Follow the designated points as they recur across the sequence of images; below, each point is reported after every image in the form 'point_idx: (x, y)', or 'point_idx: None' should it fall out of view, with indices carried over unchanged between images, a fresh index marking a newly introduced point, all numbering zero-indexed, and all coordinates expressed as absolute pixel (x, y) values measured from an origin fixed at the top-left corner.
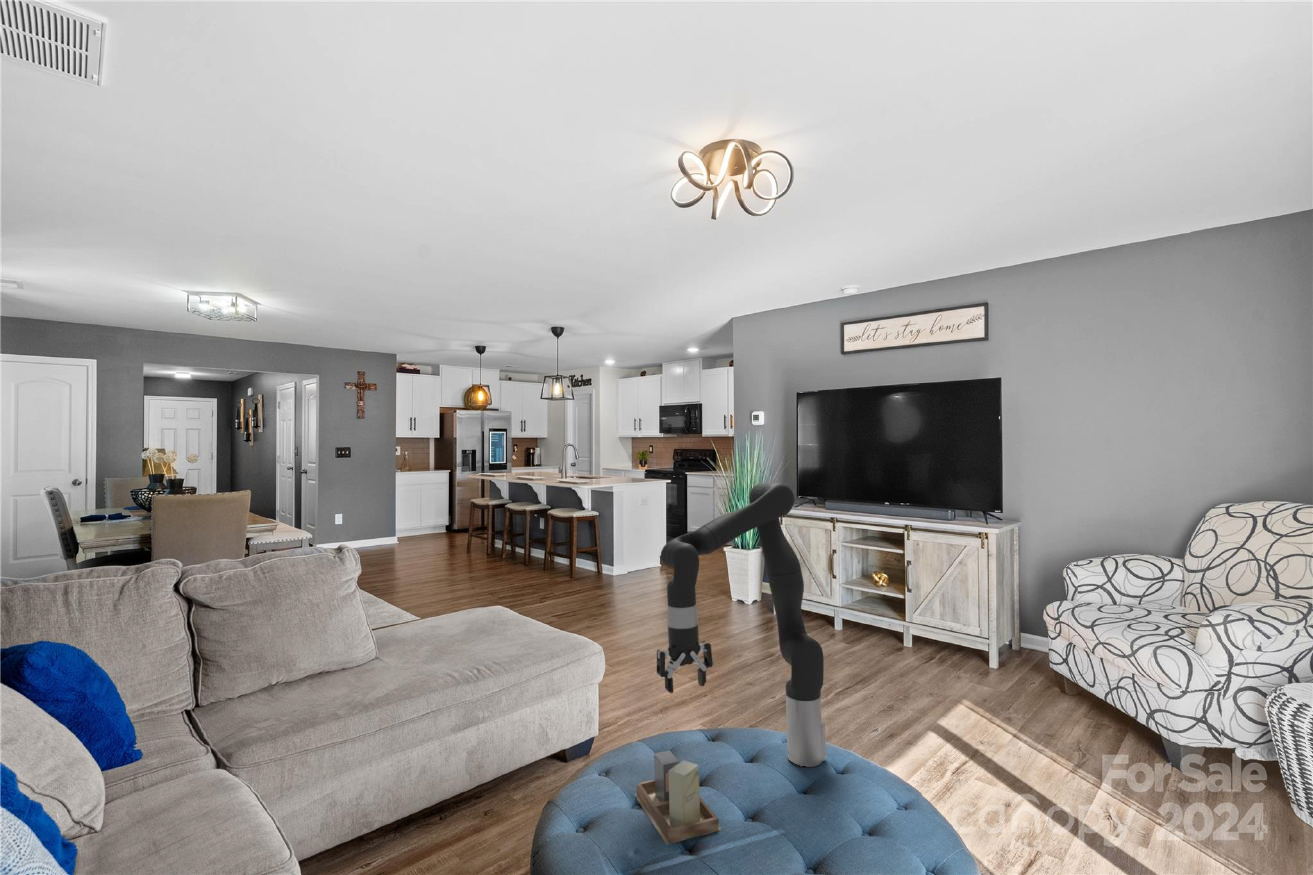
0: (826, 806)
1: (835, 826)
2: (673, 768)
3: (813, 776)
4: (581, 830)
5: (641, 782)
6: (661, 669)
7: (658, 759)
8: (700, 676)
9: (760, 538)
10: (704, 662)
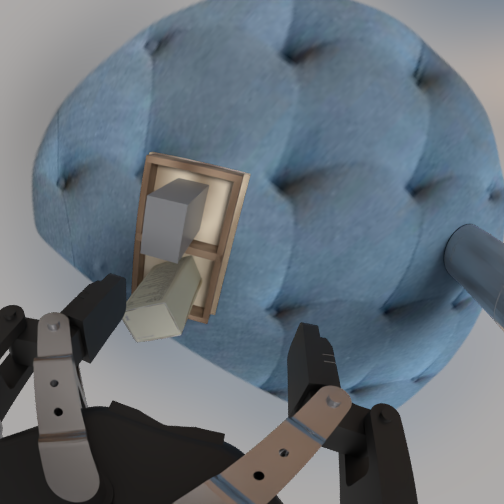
0: (373, 345)
1: (341, 371)
2: (129, 313)
3: (430, 291)
4: (61, 185)
5: (155, 157)
6: (5, 377)
7: (143, 223)
8: (294, 380)
9: None
10: (350, 437)
